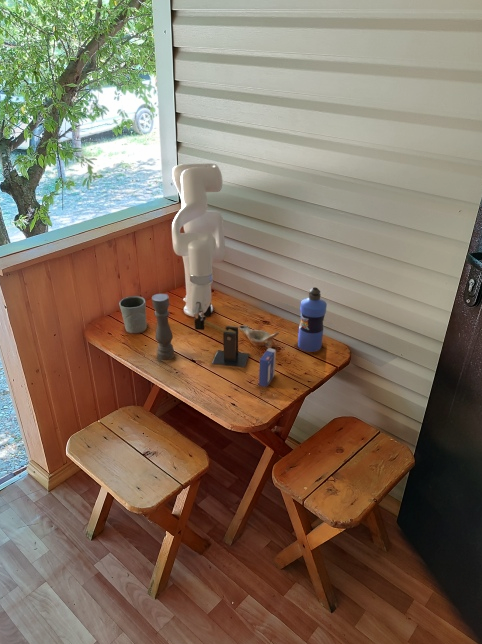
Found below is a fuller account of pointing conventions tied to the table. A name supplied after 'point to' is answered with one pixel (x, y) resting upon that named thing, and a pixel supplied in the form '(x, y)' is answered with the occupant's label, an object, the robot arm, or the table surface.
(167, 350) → the candle holder
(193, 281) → the robot arm
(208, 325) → the switch lever
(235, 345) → the switch base
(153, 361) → the table surface
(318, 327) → the water bottle
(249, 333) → the oil lamp
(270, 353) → the walkman
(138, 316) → the grey green planter pot
